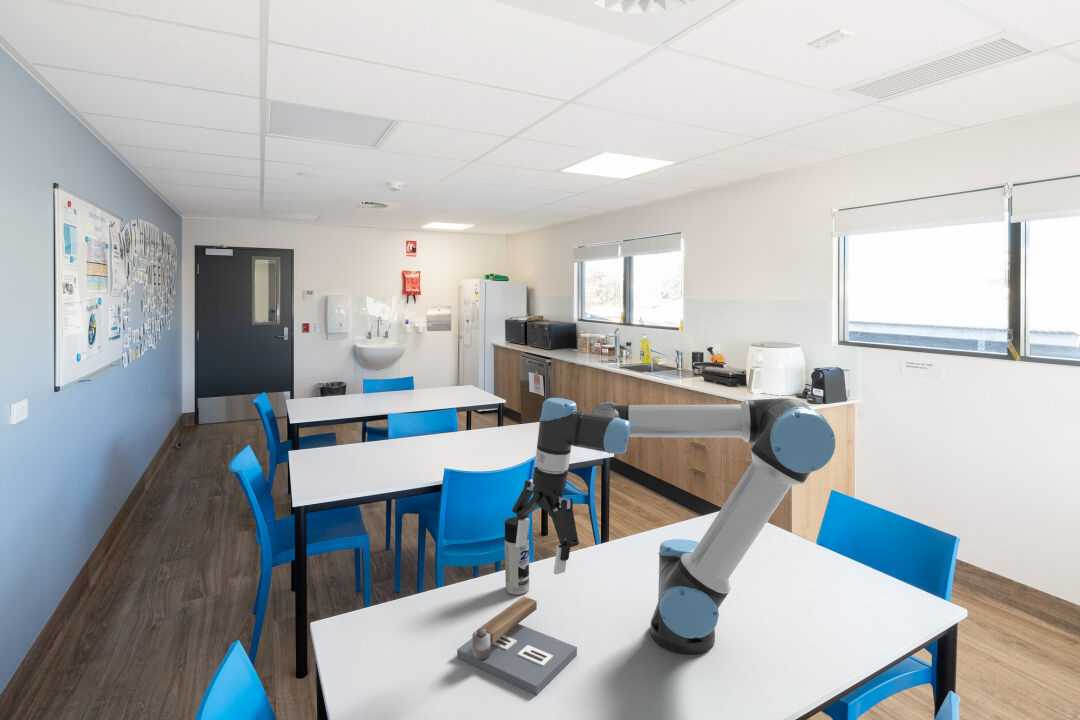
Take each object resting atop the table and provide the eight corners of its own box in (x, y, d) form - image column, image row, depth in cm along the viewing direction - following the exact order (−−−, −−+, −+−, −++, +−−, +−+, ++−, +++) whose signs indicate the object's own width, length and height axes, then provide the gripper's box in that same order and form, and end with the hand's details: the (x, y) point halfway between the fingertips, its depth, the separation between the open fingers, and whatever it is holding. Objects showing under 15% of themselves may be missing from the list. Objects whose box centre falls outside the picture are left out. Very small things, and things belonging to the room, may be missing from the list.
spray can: (520, 598, 155) (520, 527, 153) (500, 591, 159) (499, 522, 157) (533, 587, 161) (533, 519, 159) (514, 581, 164) (513, 514, 162)
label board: (576, 655, 130) (576, 645, 130) (536, 695, 117) (536, 684, 117) (501, 624, 143) (501, 615, 143) (457, 657, 130) (457, 647, 129)
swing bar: (536, 618, 141) (536, 597, 141) (482, 661, 125) (482, 638, 124) (523, 613, 144) (523, 592, 143) (468, 654, 127) (468, 632, 126)
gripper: (504, 452, 133) (494, 538, 136) (577, 490, 114) (564, 589, 117) (529, 449, 138) (518, 533, 141) (603, 485, 119) (589, 580, 122)
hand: (539, 558), depth 129 cm, fingers open, 13 cm apart
